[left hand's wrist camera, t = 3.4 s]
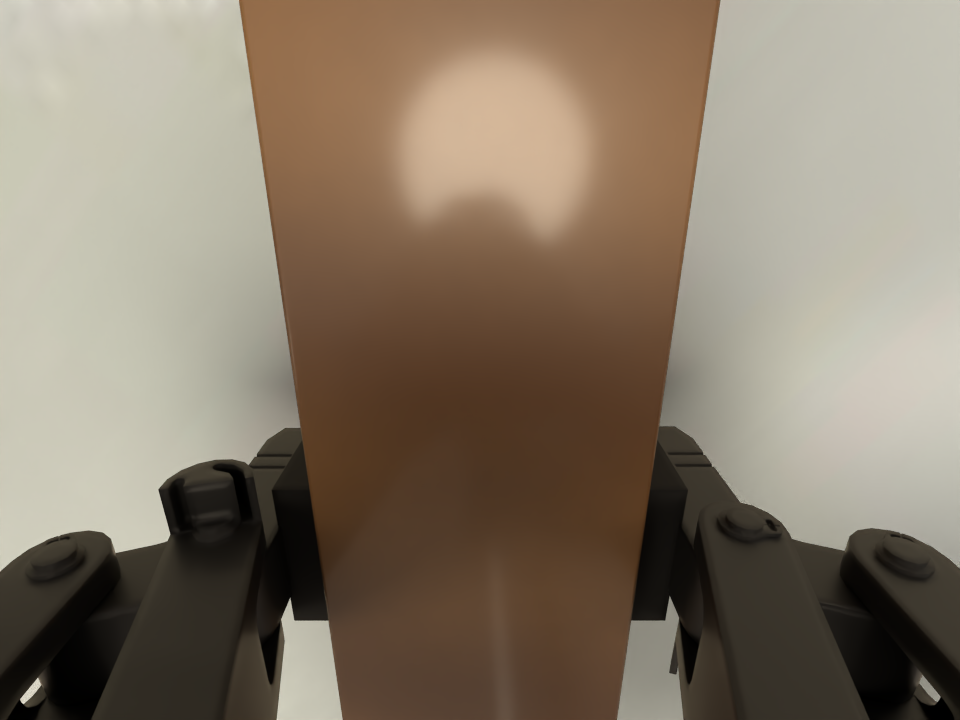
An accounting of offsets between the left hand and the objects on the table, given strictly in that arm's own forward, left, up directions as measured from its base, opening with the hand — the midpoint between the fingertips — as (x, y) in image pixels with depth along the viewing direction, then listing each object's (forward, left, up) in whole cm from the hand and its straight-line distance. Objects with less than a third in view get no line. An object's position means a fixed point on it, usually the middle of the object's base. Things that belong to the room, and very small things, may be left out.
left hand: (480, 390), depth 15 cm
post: (+29, 0, -1) cm, 29 cm away
